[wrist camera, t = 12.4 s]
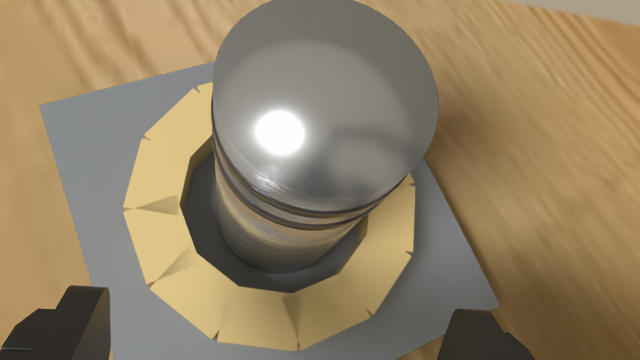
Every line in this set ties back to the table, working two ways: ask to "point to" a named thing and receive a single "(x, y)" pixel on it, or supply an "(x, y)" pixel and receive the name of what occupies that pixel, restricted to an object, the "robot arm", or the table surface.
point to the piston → (313, 126)
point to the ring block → (219, 262)
